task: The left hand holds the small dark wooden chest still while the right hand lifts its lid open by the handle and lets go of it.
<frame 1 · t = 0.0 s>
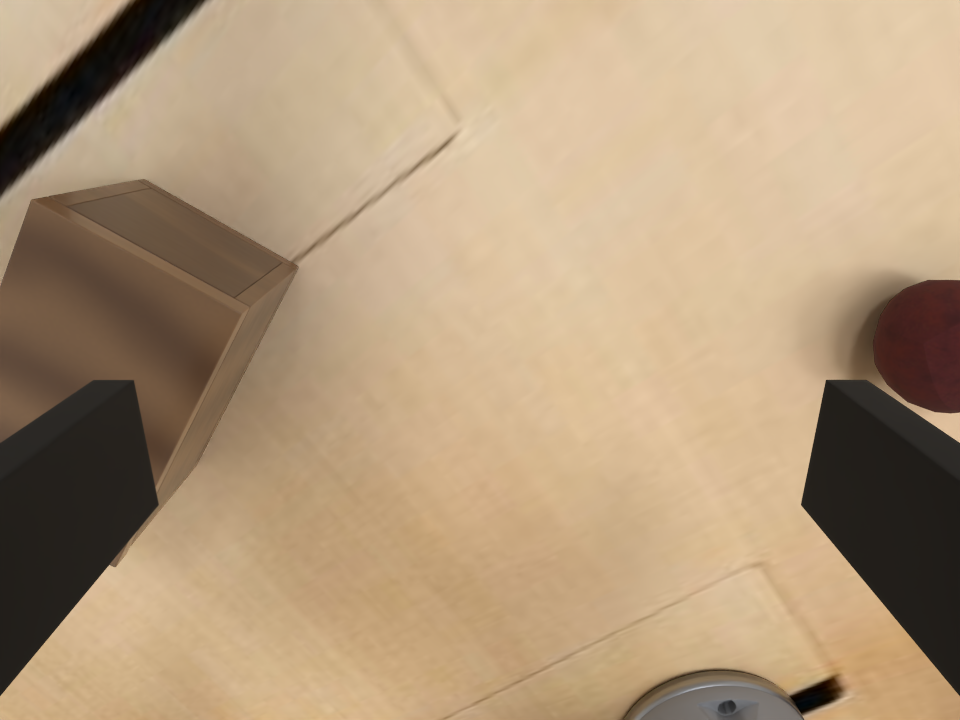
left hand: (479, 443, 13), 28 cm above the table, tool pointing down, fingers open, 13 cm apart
lid: (38, 431, 29), point 13 cm above the table, hinge at 0.0°
chest: (172, 333, 41), on the table
dark red ball: (906, 325, 41), on the table
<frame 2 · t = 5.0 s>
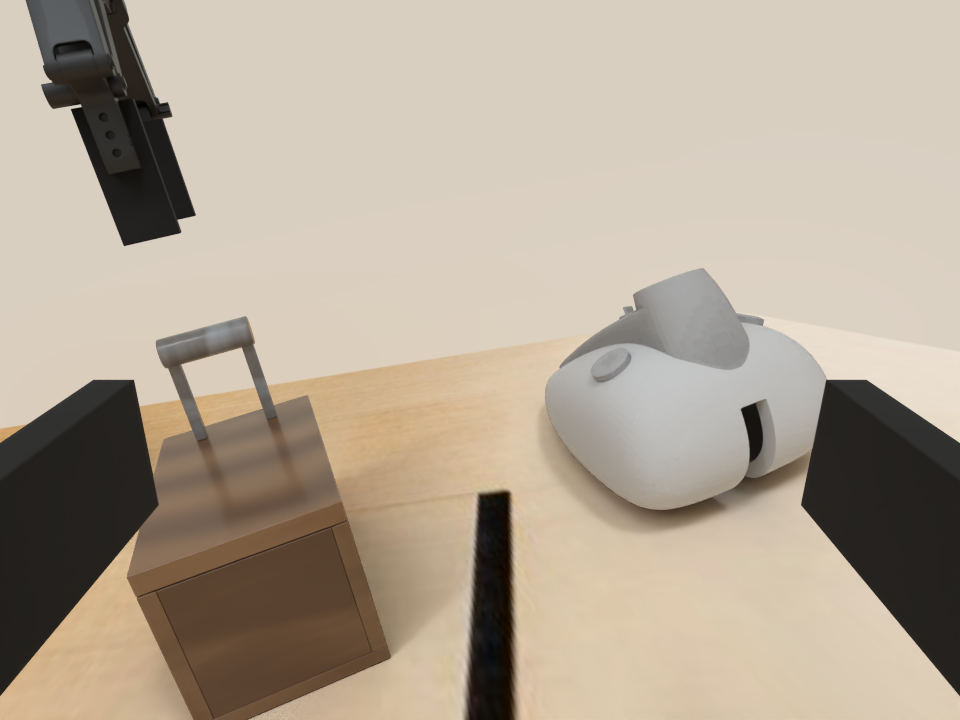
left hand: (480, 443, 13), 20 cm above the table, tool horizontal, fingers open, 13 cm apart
lid: (221, 419, 37), point 13 cm above the table, hinge at 0.0°
projector: (652, 444, 51), on the table
chest: (288, 604, 42), on the table
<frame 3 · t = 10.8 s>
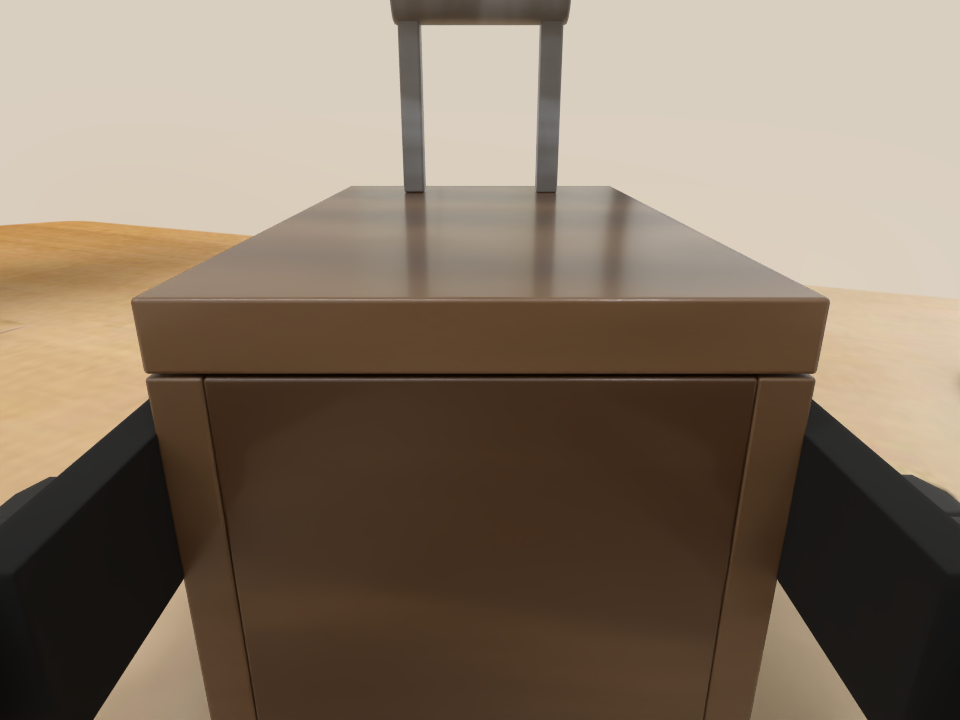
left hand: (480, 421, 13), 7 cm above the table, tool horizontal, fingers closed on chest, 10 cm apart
lid: (480, 93, 16), point 13 cm above the table, hinge at 0.0°
chest: (480, 547, 20), on the table, touching left hand
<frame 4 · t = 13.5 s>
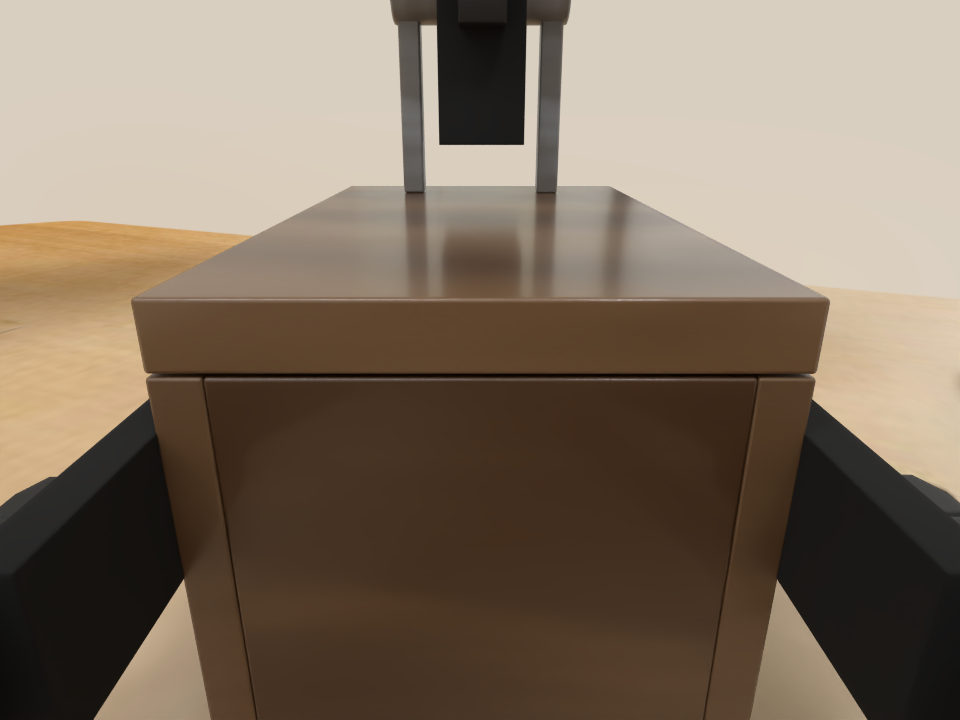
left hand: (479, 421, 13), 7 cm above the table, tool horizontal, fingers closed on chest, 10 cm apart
lid: (480, 93, 16), point 13 cm above the table, hinge at -0.1°, touching right hand
chest: (480, 546, 20), on the table, touching left hand
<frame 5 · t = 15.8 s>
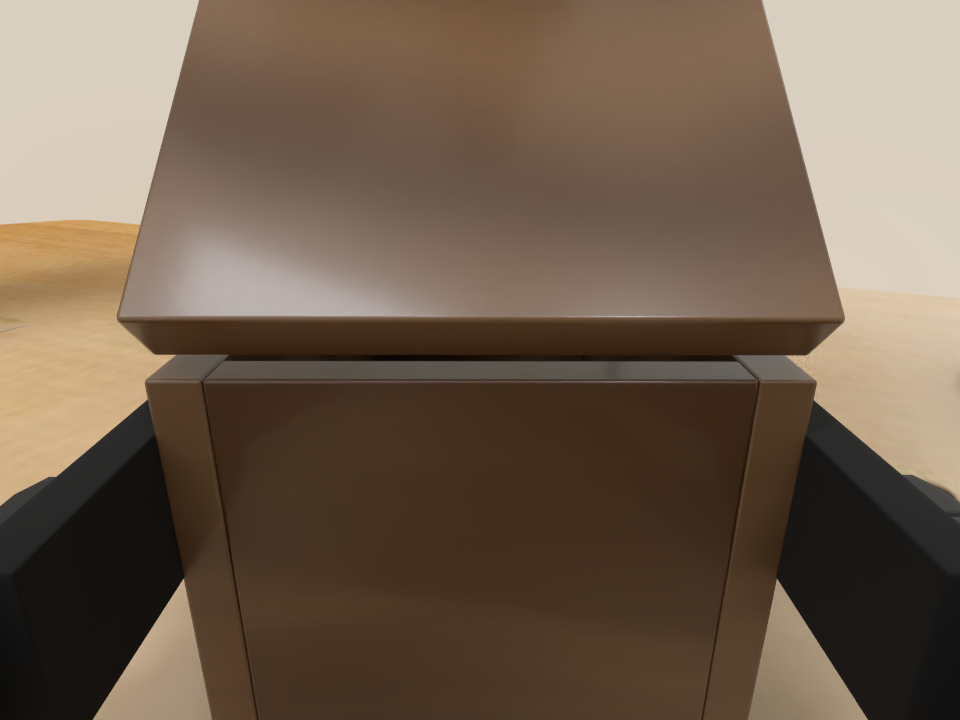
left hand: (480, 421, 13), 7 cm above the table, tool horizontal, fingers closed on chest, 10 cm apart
chest: (479, 542, 20), on the table, touching left hand
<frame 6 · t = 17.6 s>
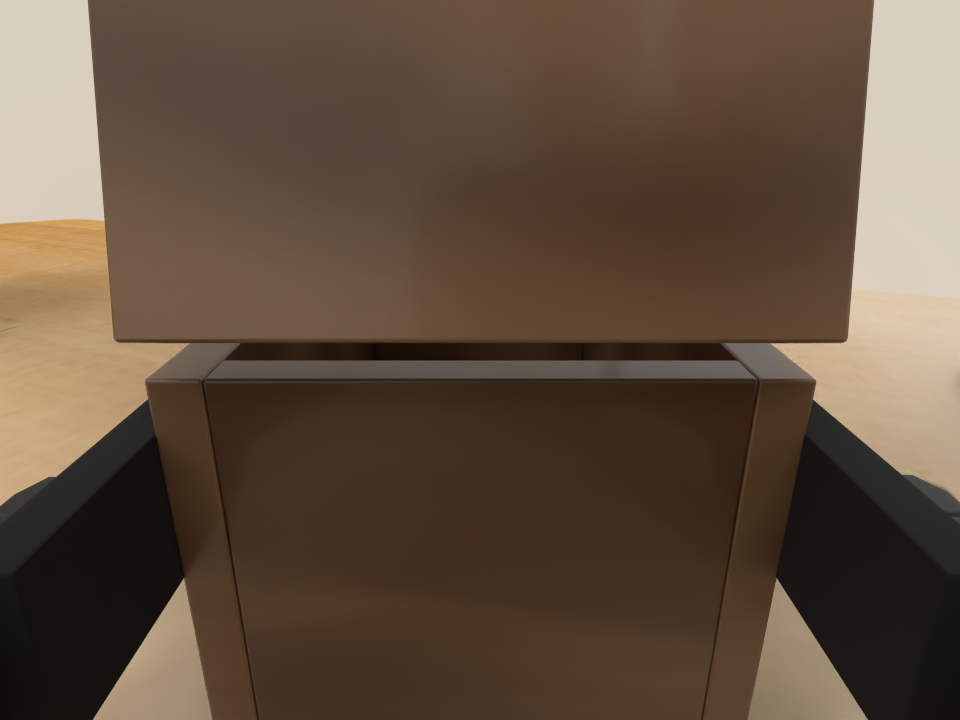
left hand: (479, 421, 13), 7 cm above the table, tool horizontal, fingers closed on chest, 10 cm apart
chest: (479, 542, 20), on the table, touching left hand
when the left hand's fingers open (7 cm above the table, at t = 21.7 s): chest stays where it is, on the table.
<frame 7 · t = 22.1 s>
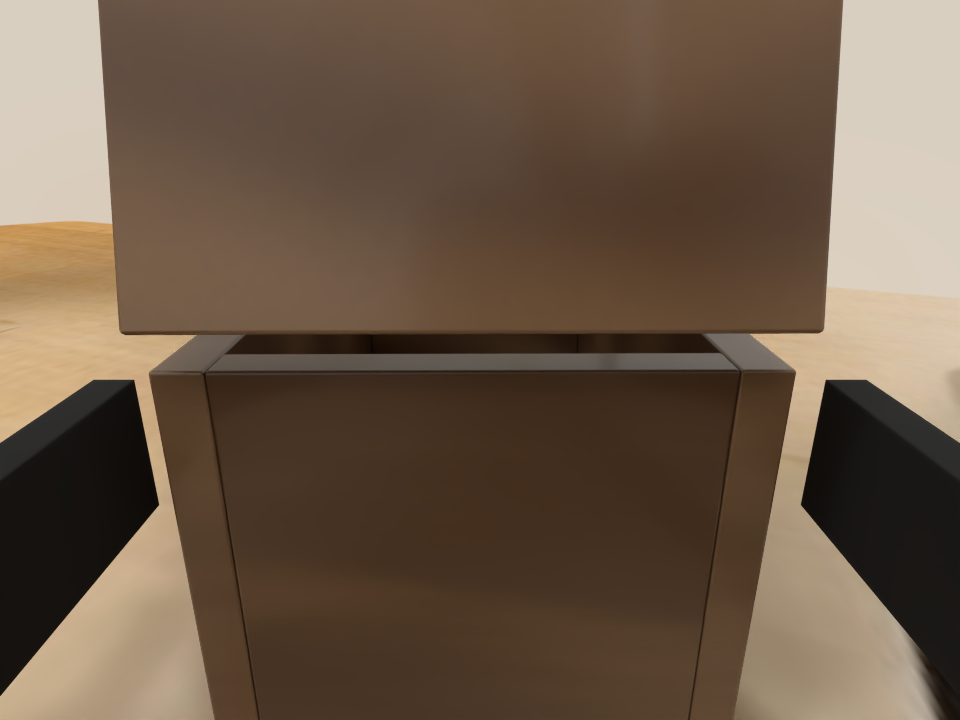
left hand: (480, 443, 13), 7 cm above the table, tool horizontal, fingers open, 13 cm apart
chest: (475, 540, 21), on the table
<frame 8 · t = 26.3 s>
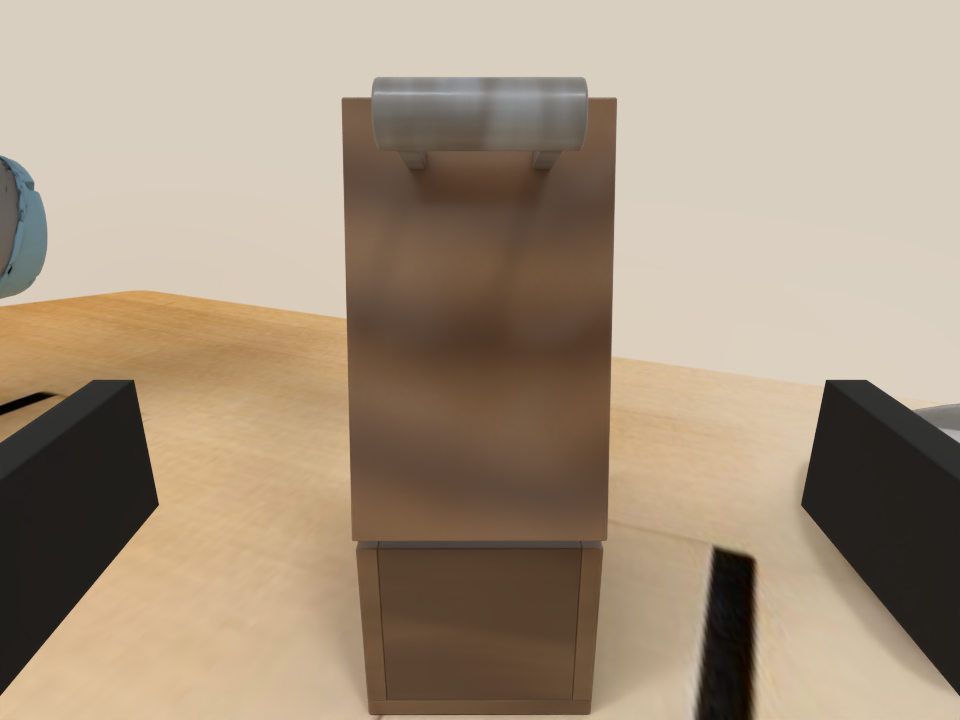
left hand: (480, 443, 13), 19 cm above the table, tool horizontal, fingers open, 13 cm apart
lid: (479, 333, 22), point 19 cm above the table, hinge at 76.2°
chest: (479, 592, 37), on the table
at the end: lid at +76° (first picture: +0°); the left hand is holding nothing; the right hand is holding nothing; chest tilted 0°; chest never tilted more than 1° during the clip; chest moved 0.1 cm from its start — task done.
